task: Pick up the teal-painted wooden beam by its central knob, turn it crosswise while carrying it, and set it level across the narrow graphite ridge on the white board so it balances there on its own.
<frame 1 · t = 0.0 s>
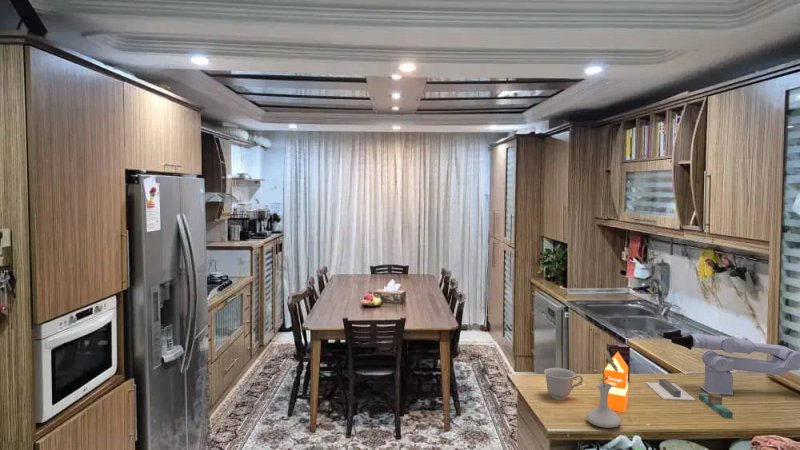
hand: (667, 337, 208), 22 cm above the counter, tool horizontal, fingers open, 7 cm apart
flower in vase: (603, 423, 176), on the counter
orange juice: (615, 406, 191), on the counter
supplement box: (617, 381, 218), on the counter
bar: (714, 408, 190), on the counter
teacup: (562, 398, 199), on the counter
ridge board: (669, 392, 206), on the counter
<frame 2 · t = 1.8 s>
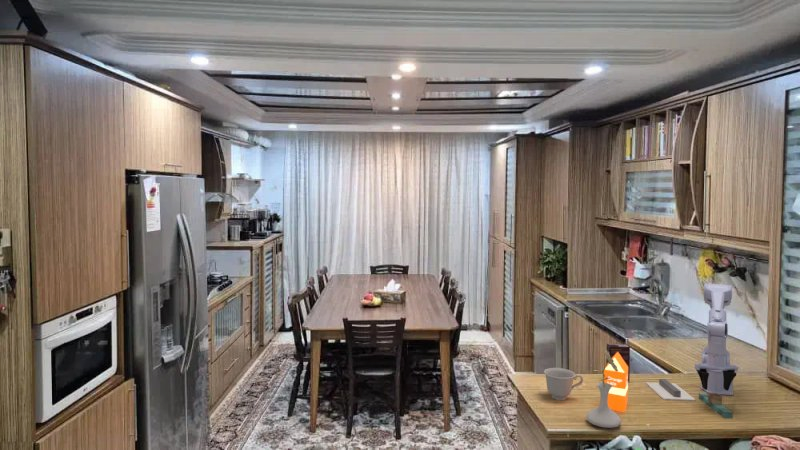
hand: (715, 389, 189), 7 cm above the counter, tool pointing down, fingers open, 7 cm apart
nothing on the counter moved.
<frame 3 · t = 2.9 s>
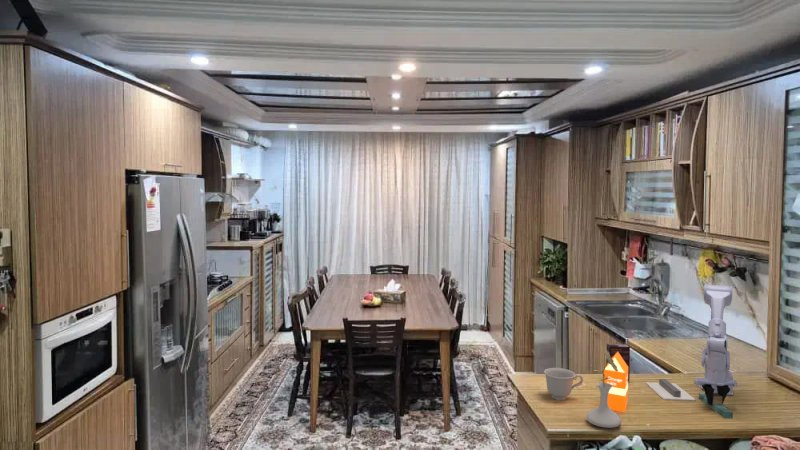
hand: (714, 404, 190), 1 cm above the counter, tool pointing down, fingers closed on bar, 3 cm apart
bar: (714, 408, 190), on the counter, touching gripper
everything else where it was.
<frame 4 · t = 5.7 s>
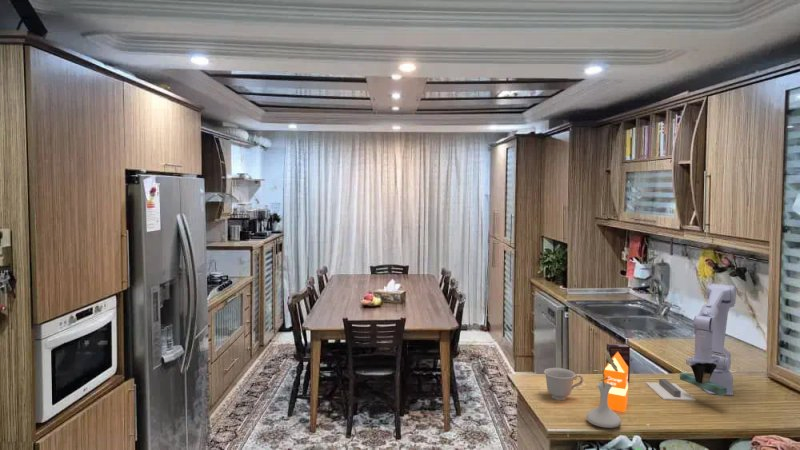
hand: (702, 381, 194), 8 cm above the counter, tool pointing down, fingers closed on bar, 3 cm apart
bar: (702, 386, 194), point 7 cm above the counter, touching gripper
everything else where it was.
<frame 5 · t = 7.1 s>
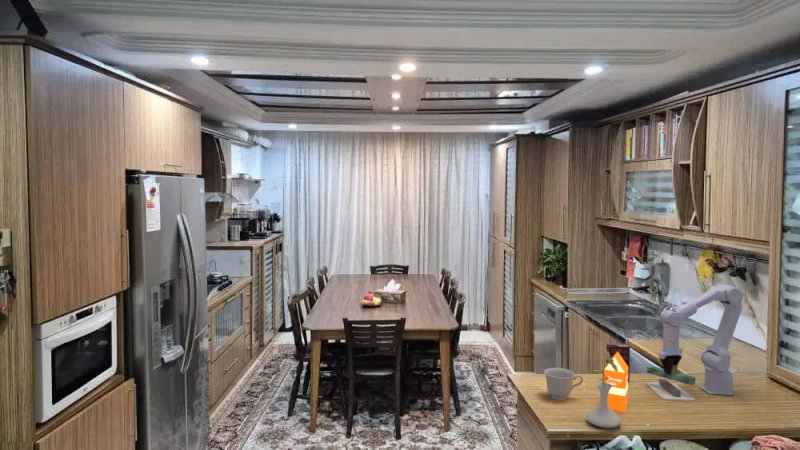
hand: (670, 373, 205), 8 cm above the counter, tool pointing down, fingers closed on bar, 3 cm apart
bar: (670, 378, 205), point 6 cm above the counter, touching gripper
everything else where it was.
when the fingers open (5 cm above the counter, at t = 8.0 s): bar stays where it is, resting on ridge board.
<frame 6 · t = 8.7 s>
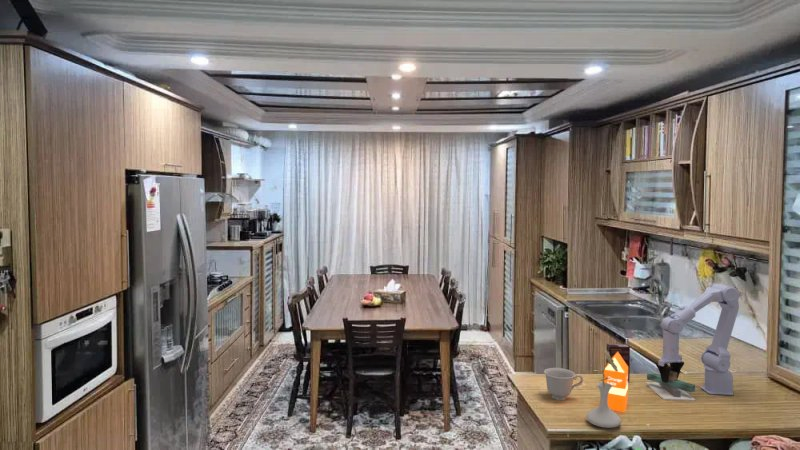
hand: (669, 380, 205), 5 cm above the counter, tool pointing down, fingers open, 7 cm apart
bar: (670, 384, 205), point 3 cm above the counter, touching ridge board
everything else where it was.
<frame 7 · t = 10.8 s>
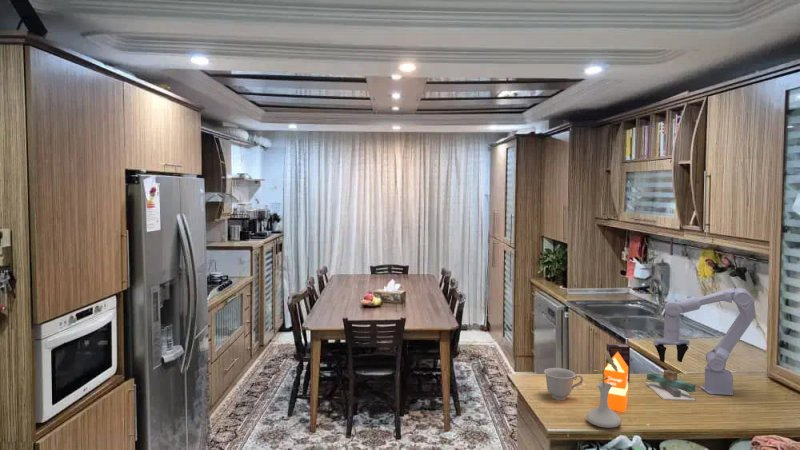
hand: (670, 361, 214), 10 cm above the counter, tool pointing down, fingers open, 7 cm apart
nothing on the counter moved.
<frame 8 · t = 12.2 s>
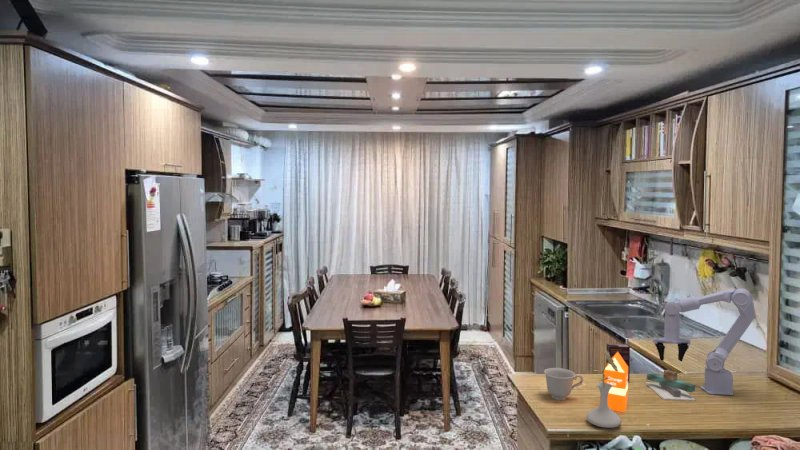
hand: (670, 360, 216), 10 cm above the counter, tool pointing down, fingers open, 7 cm apart
nothing on the counter moved.
at the end: bar inside the target area on the ridge board (0.1 cm from its centre), point 3.0 cm above the ridge board's base; bar tilted 0°; bar touching ridge board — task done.
